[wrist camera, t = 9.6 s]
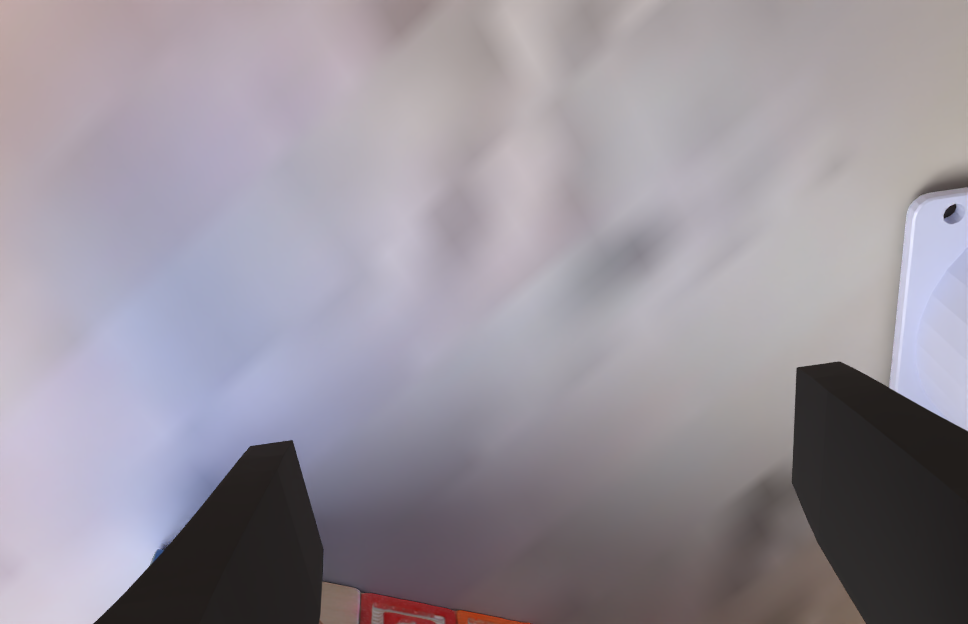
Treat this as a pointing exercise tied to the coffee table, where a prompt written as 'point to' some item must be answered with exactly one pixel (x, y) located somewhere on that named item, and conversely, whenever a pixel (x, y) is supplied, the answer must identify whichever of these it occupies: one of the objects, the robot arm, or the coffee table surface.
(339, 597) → the stack of blocks
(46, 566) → the coffee table surface
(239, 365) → the coffee table surface
